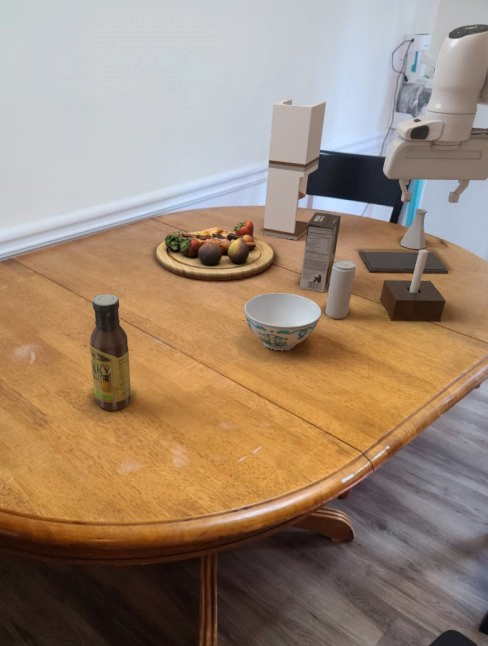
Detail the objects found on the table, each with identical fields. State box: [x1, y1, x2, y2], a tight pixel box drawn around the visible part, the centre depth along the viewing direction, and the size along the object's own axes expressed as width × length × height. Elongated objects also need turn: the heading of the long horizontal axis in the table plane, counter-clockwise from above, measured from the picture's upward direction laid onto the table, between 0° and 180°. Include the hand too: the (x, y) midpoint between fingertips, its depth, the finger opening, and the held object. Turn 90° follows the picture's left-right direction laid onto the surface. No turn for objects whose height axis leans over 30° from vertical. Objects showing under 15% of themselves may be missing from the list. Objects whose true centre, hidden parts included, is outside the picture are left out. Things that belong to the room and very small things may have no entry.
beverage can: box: [325, 259, 357, 320], centre depth 123 cm, size 5×5×12 cm
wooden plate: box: [155, 219, 275, 281], centre depth 151 cm, size 32×32×8 cm
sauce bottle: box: [89, 293, 132, 411], centre depth 93 cm, size 6×6×20 cm
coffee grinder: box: [262, 98, 327, 241], centre depth 161 cm, size 11×11×35 cm
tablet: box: [358, 251, 449, 275], centre depth 150 cm, size 20×13×1 cm, turn 88°
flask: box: [400, 208, 428, 250], centre depth 159 cm, size 7×7×10 cm
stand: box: [379, 279, 447, 323], centre depth 127 cm, size 11×11×5 cm
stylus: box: [409, 248, 429, 293], centre depth 124 cm, size 2×2×14 cm
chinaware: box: [244, 292, 322, 352], centre depth 114 cm, size 15×15×8 cm
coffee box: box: [299, 211, 342, 293], centre depth 135 cm, size 9×6×16 cm
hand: (428, 201), depth 115 cm, fingers open, 8 cm apart
